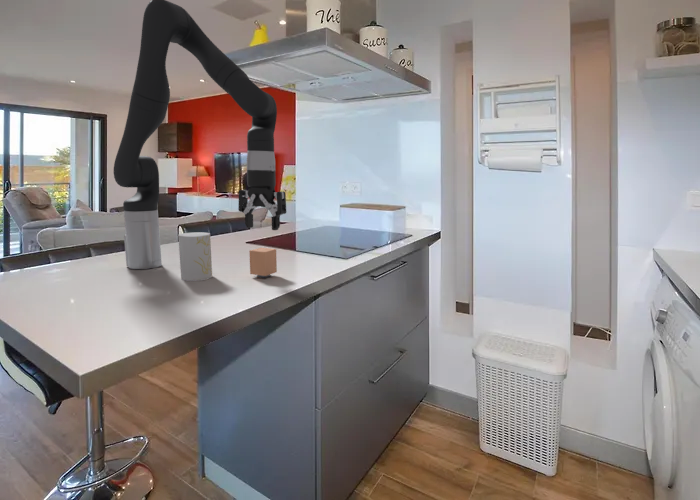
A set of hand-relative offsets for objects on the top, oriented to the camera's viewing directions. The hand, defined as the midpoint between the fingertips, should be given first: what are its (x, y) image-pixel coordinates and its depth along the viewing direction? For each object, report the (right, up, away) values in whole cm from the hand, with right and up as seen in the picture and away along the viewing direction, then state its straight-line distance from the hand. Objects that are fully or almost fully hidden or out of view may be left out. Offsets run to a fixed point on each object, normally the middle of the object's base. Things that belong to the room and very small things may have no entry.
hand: (262, 228), depth 116 cm
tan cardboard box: (0, -12, +2) cm, 12 cm away
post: (0, -13, +2) cm, 13 cm away
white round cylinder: (-18, -14, +1) cm, 23 cm away
